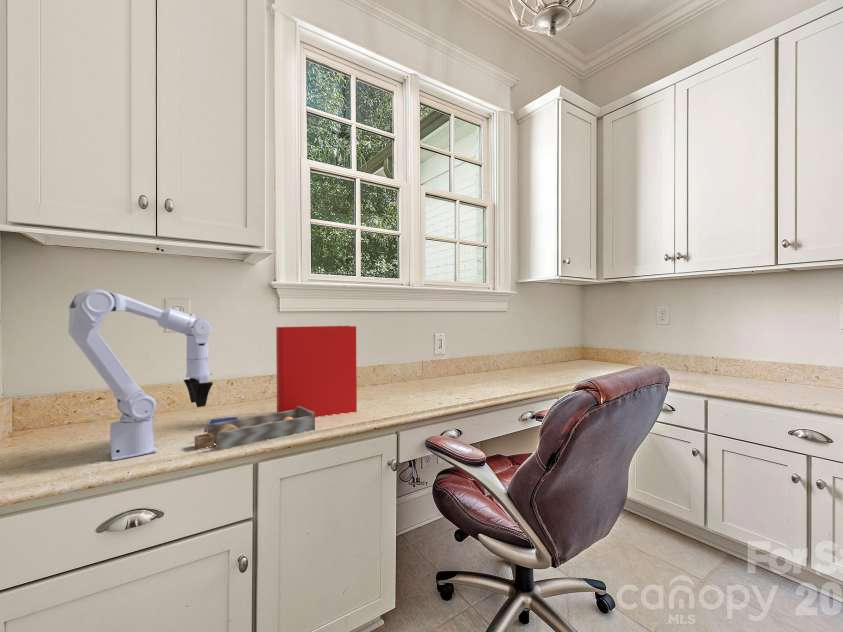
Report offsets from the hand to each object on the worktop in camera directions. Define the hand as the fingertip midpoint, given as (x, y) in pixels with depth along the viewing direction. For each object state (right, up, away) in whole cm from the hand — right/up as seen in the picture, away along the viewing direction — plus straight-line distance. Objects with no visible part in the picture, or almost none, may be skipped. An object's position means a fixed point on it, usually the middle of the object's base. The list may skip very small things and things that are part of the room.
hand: (198, 404), depth 116 cm
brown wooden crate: (+6, -10, -8) cm, 14 cm away
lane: (+18, -14, +3) cm, 23 cm away
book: (+28, -10, +27) cm, 40 cm away
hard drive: (+1, -11, +13) cm, 17 cm away
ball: (+24, -8, +8) cm, 27 cm away
